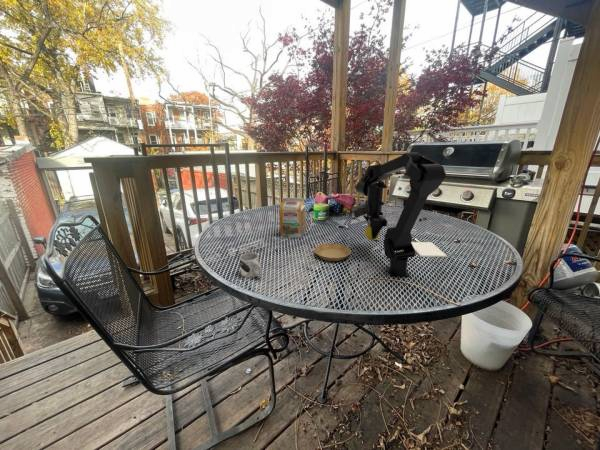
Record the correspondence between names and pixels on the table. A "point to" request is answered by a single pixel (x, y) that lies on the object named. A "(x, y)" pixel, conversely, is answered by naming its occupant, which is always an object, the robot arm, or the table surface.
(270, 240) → the table surface
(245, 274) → the mug
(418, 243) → the placemat
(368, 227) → the lemon
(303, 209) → the plastic snack jar
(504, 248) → the table surface
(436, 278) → the table surface
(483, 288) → the table surface
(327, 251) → the plant saucer
